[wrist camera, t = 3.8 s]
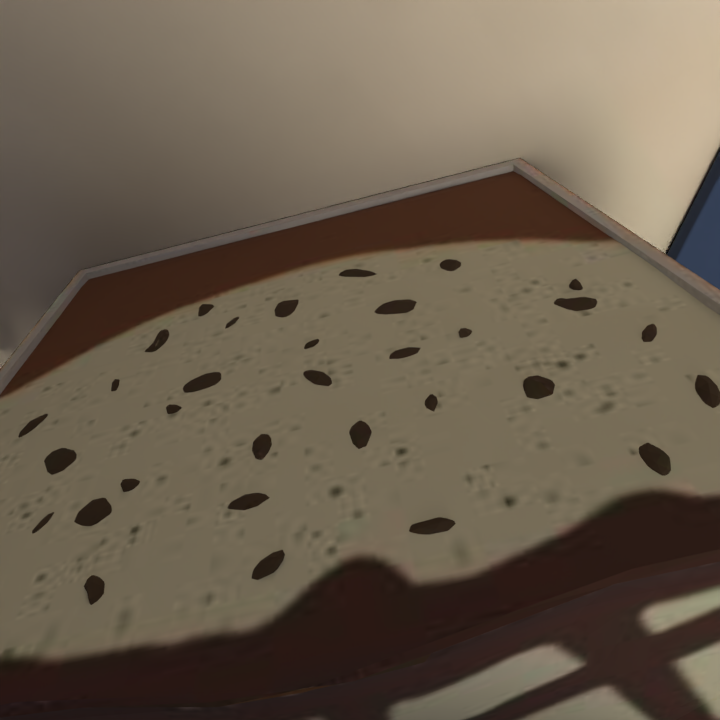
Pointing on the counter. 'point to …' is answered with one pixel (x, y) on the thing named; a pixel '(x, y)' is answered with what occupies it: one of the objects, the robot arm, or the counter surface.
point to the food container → (370, 472)
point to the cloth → (702, 231)
